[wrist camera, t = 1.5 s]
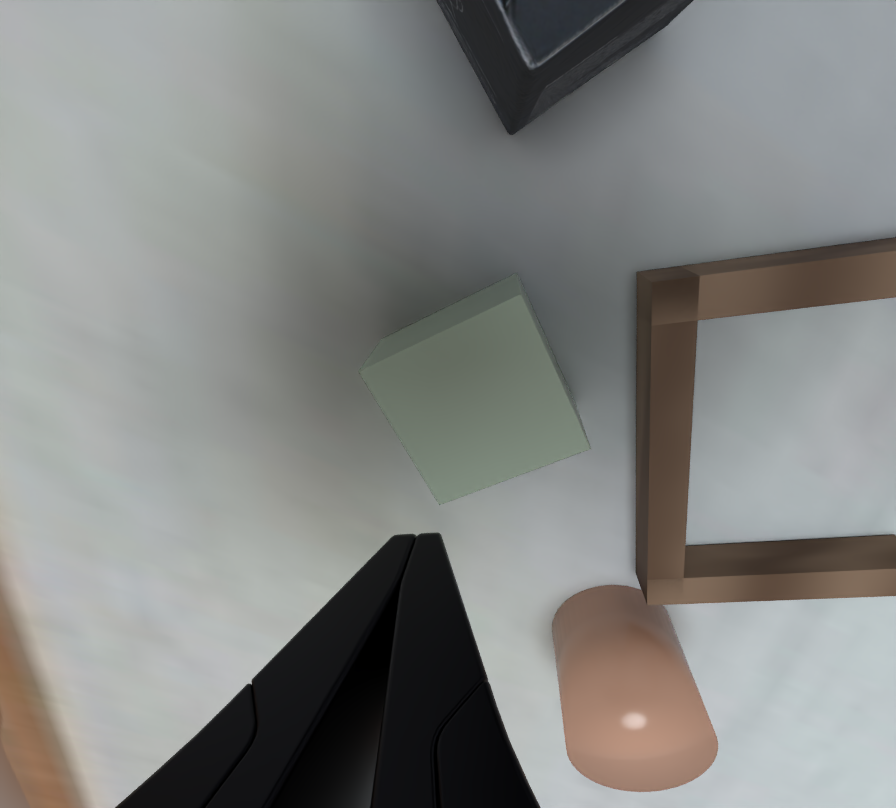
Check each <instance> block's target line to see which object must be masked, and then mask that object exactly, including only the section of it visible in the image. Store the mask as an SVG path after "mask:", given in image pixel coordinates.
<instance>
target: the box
mask: <svg viewBox="0 0 896 808" xmlns="http://www.w3.org/2000/svg"><path fill="white" fill-rule="evenodd" d="M692 1H693V0H437V2H438V4H439V6H440V7H441V9H442V11H443V13H444V15H445V17H446V19H447V21H448V22H449V24H450V26H451V28H452V30H453V32H454V34H455V36H456V38H457V40H458V42H459V43H460V45H461V47H462V49H463V51H464V53H465V54H466V56H467V58H468V60H469V62H470V64H471V66H472V67H473V69H474V71H475V73H476V75H477V76H478V78H479V80H480V82H481V84H482V86H483V88H484V89H485V91H486V93H487V95H488V97H489V99H490V101H491V102H492V104H493V106H494V108H495V110H496V112H497V114H498V116H499V117H500V119H501V121H502V123H503V125H504V126H505V128H506V130H507V132H508V133H509V134H510V135H513V134H514V133H516V132H517V131H519V130H520V129H521V128H523V127H524V126H525V125H527V124H528V123H530V122H531V121H532V120H534V119H535V118H537V117H538V116H539V115H541V114H542V113H544V112H545V111H546V110H548V109H549V108H551V107H552V106H554V105H555V104H557V103H558V102H559V101H560V100H562V99H564V98H565V97H566V96H568V95H569V94H570V93H571V92H573V91H574V90H576V89H577V88H578V87H580V86H581V85H583V84H584V83H586V82H587V81H588V80H590V79H591V78H592V77H594V76H595V75H597V74H598V73H600V72H601V71H602V70H604V69H605V68H607V67H608V66H610V65H611V64H612V63H614V62H615V61H617V60H618V59H620V58H621V57H623V56H624V55H625V54H627V53H628V52H630V51H631V50H632V49H634V48H635V47H637V46H638V45H640V44H641V43H642V42H644V41H645V40H647V39H648V38H650V37H651V36H652V35H654V34H655V33H657V32H658V31H660V30H661V29H663V28H664V27H666V26H667V25H668V24H669V23H670V22H671V21H672V20H673V19H674V18H675V17H676V16H677V15H678V14H679V13H680V12H681V11H683V10H684V9H685V8H686V7H687V6H688V5H689V4H690V3H691V2H692Z"/></svg>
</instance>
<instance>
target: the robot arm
mask: <svg viewBox="0 0 896 808" xmlns="http://www.w3.org/2000/svg"><path fill="white" fill-rule="evenodd" d="M115 808H540V806H539V804H538V802H537V800H536V797H535V795H534V793H533V791H532V789H531V787H530V785H529V783H528V781H527V779H526V776H525V774H524V772H523V770H522V767H521V765H520V763H519V761H518V759H517V756H516V754H515V752H514V750H513V747H512V745H511V743H510V740H509V738H508V735H507V732H506V730H505V727H504V724H503V721H502V719H501V716H500V713H499V711H498V708H497V705H496V702H495V699H494V696H493V692H492V689H491V686H490V684H489V682H488V678H487V675H486V672H485V669H484V666H483V663H482V659H481V656H480V653H479V650H478V647H477V644H476V641H475V638H474V635H473V632H472V629H471V626H470V622H469V619H468V616H467V613H466V610H465V607H464V604H463V601H462V598H461V595H460V592H459V589H458V585H457V582H456V579H455V576H454V573H453V570H452V567H451V564H450V561H449V558H448V555H447V552H446V548H445V545H444V542H443V539H442V536H441V534H440V533H421V534H419V535H418V536H416V535H415V534H402V535H394V536H393V537H391V538H390V539H389V540H388V541H387V542H386V543H385V544H384V545H383V546H382V547H381V549H380V550H379V551H378V552H377V553H376V554H375V555H374V556H373V557H372V558H371V559H370V560H369V561H368V562H367V563H366V564H365V565H364V566H363V567H362V568H361V569H360V570H359V571H358V572H357V573H356V574H355V575H354V576H353V577H352V578H351V579H350V580H349V581H348V582H347V583H346V584H345V585H344V586H343V587H342V588H341V589H340V590H339V591H338V592H337V593H336V594H335V595H334V596H333V597H332V598H331V599H330V600H329V602H328V603H327V604H326V605H325V606H324V607H323V608H322V609H321V610H320V611H319V612H318V613H317V614H316V615H315V616H314V617H313V618H312V619H311V620H310V621H309V622H308V623H307V624H306V625H305V626H304V627H303V628H302V629H301V630H300V631H299V632H298V633H297V634H296V635H295V636H294V637H293V638H292V639H291V640H290V641H289V642H288V643H287V644H286V645H285V646H284V647H283V648H282V649H281V650H280V651H279V652H278V653H277V654H276V656H275V657H274V658H273V659H272V660H271V661H270V662H269V663H268V664H267V665H266V666H265V667H264V668H263V669H262V670H261V671H260V672H259V673H258V674H257V675H256V676H255V677H254V678H253V679H252V684H247V685H246V686H245V687H244V688H243V689H242V690H241V691H240V692H239V693H238V694H237V695H236V696H235V697H234V698H233V699H232V700H231V701H230V702H229V703H228V704H227V705H226V706H225V707H224V708H223V709H222V710H221V711H220V712H219V713H218V714H217V715H216V716H215V717H214V718H213V719H212V720H211V721H210V722H209V723H208V724H207V725H206V726H205V727H204V728H203V729H202V730H201V731H200V732H199V733H198V734H197V735H196V736H194V737H193V738H192V739H191V740H190V741H189V742H188V743H187V744H186V745H185V746H183V747H182V748H181V749H180V750H179V751H178V752H177V753H176V754H175V755H174V756H173V757H171V758H170V759H169V760H168V761H167V762H166V763H165V764H164V765H163V766H162V767H160V768H159V769H158V770H157V771H156V772H155V773H154V774H153V775H152V776H150V777H149V778H148V779H147V780H146V781H145V782H144V783H143V784H141V785H140V786H139V787H138V788H137V789H136V790H135V791H133V792H132V793H131V794H130V795H129V796H128V797H127V798H126V799H124V800H123V801H122V802H121V803H120V804H119V805H118V806H116V807H115Z"/></svg>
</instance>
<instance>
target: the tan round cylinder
mask: <svg viewBox="0 0 896 808" xmlns="http://www.w3.org/2000/svg"><path fill="white" fill-rule="evenodd" d="M552 634H553V642H554V651H555V659H556V667H557V676H558V684H559V692H560V700H561V709H562V717H563V725H564V734H565V742H566V750H567V755H568V757H569V760H570V761H571V763H572V764H573V766H574V767H575V768H576V769H577V770H578V771H579V772H580V773H581V774H582V775H584V776H585V777H587V778H588V779H590V780H592V781H594V782H596V783H598V784H601V785H603V786H606V787H610V788H613V789H618V790H624V791H634V792H651V791H660V790H666V789H670V788H674V787H678V786H680V785H683V784H686V783H688V782H690V781H692V780H694V779H695V778H697V777H699V776H700V775H701V774H703V773H704V772H705V771H706V770H707V769H708V768H709V767H710V766H711V765H712V763H713V762H714V760H715V758H716V755H717V751H718V741H717V737H716V734H715V731H714V729H713V726H712V724H711V721H710V719H709V716H708V714H707V711H706V709H705V706H704V703H703V701H702V698H701V696H700V693H699V691H698V688H697V686H696V683H695V680H694V678H693V675H692V673H691V670H690V668H689V665H688V663H687V660H686V657H685V655H684V652H683V650H682V647H681V645H680V642H679V640H678V637H677V635H676V632H675V629H674V627H673V624H672V622H671V619H670V617H669V614H668V612H667V610H666V609H665V607H664V606H663V605H647V604H646V601H645V598H644V595H643V592H642V590H639V589H636V588H633V587H628V586H621V585H605V586H598V587H593V588H590V589H586V590H584V591H581V592H579V593H577V594H575V595H573V596H572V597H570V598H569V599H568V600H566V601H565V602H564V603H563V604H562V605H561V606H560V608H559V609H558V610H557V612H556V614H555V616H554V619H553V623H552Z"/></svg>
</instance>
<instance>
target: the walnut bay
mask: <svg viewBox="0 0 896 808" xmlns="http://www.w3.org/2000/svg"><path fill="white" fill-rule="evenodd" d="M893 297H896V237H895V238H888V239H880V240H873V241H865V242H858V243H850V244H843V245H835V246H828V247H820V248H812V249H805V250H797V251H790V252H782V253H775V254H767V255H760V256H752V257H745V258H737V259H729V260H722V261H714V262H707V263H699V264H692V265H684V266H677V267H669V268H662V269H654V270H646V271H639V272H637V361H636V575H637V578H638V581H639V584H640V587H641V589H642V592H643V595H644V598H645V601H646V604H647V605H668V604H694V603H721V602H747V601H773V600H800V599H826V598H852V597H878V596H896V536H895V535H882V536H863V537H845V538H826V539H808V540H789V541H771V542H752V543H734V544H716V545H697V546H685V542H686V524H687V505H688V487H689V469H690V450H691V432H692V413H693V395H694V376H695V358H696V339H697V321H698V320H705V319H713V318H722V317H731V316H739V315H748V314H756V313H765V312H773V311H782V310H790V309H799V308H808V307H816V306H825V305H833V304H842V303H850V302H859V301H868V300H876V299H885V298H893Z"/></svg>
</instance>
